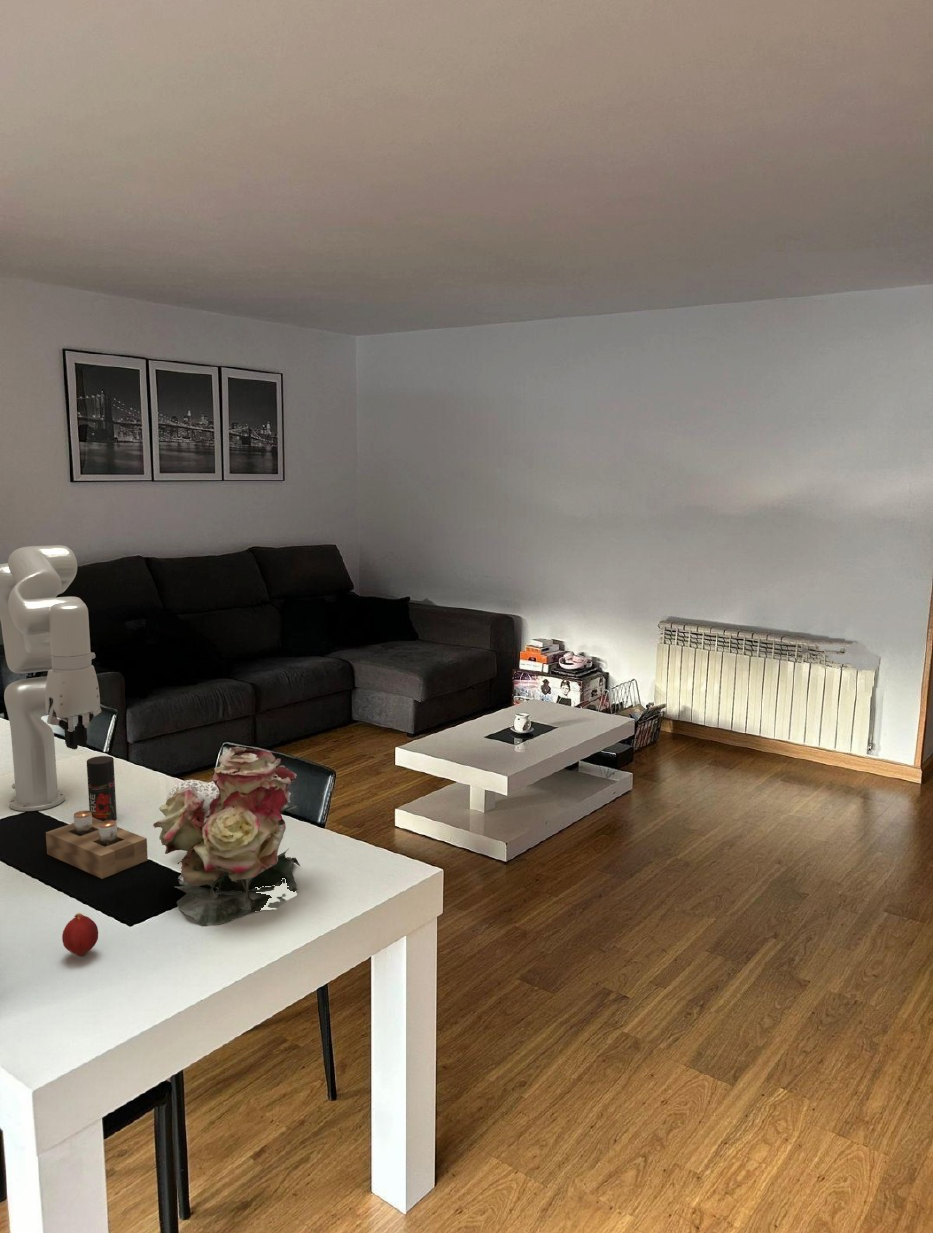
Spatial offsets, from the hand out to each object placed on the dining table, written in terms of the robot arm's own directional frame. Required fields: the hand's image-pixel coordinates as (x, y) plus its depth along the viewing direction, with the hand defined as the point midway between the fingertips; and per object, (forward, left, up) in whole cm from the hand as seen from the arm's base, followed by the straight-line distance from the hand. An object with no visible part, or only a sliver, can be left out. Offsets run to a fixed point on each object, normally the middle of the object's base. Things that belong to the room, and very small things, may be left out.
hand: (76, 746), depth 194 cm
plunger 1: (-2, +2, -21) cm, 21 cm away
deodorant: (-15, +15, -25) cm, 33 cm away
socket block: (+2, +2, -25) cm, 25 cm away
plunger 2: (+7, +2, -21) cm, 22 cm away
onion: (+35, -23, -25) cm, 49 cm away
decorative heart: (+20, +18, -25) cm, 37 cm away
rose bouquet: (+39, +8, -25) cm, 47 cm away
